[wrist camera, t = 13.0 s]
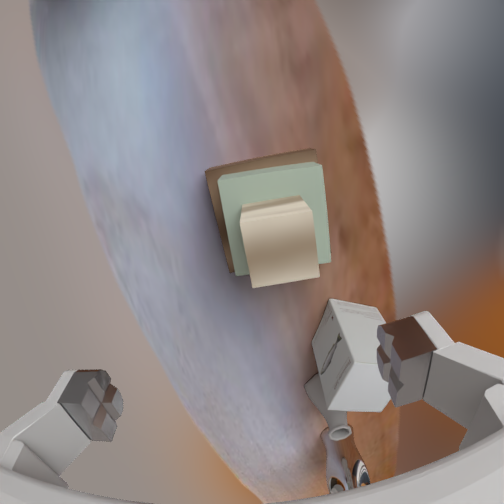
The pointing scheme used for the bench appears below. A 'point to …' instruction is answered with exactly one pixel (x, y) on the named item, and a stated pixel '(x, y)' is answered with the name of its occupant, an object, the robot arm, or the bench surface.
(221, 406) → the bench surface
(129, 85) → the bench surface
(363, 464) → the beer glass
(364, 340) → the supplement box
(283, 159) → the tower base slab
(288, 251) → the birch block
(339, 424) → the flask
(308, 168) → the tower top block
